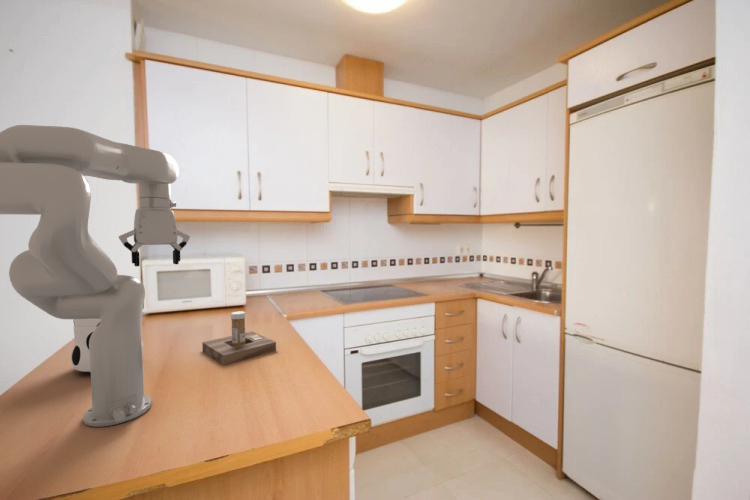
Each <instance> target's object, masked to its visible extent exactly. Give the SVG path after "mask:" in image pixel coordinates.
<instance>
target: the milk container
mask: <svg viewBox="0 0 750 500" xmlns="http://www.w3.org/2000/svg"><path fill="white" fill-rule="evenodd" d="M72 320H73V336H74V343H73V346H72V349H71V355H70V360H71V364H72V367H73V369H74V370H75V372H78V373H82V374H91V371H90V351H89V340H90V337H91V335H92V333H93V332H94V330H95V329H96V328H97V327H98V325H99V324H100V322H101V319H72ZM143 351H144V343H143V341H142V352H143Z"/></svg>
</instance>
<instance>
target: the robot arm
mask: <svg viewBox="0 0 750 500" xmlns="http://www.w3.org/2000/svg"><path fill="white" fill-rule="evenodd" d="M178 176H179V166H178V164H177V162H176V160H175V159H174V158H173V157H172V156H171V155H170V154H167V153H165V152H162V151H160V150H156V149H155V150H154V149H152V148H146V147H141V146H137V145H131V144H127V143H123V142H122V143H121V142H117V141H114V140H113V141H112V140H110V139H108V138H104V137H101V136H99V135H96V134H94V133H91V132H88V131H85V130H83V129H80V128H76V127H70V126H55V125H53V126H52V125H34V124H33V125H31V124H18V125H13V126H9V127H8V128H6V129H4V130H2V131H0V215H29V216H30V215H36V216H37V215H38V216H39V215H40V217H39V220H38V221H39V222H38V224H37V225H36V228H35V229H34V230H33V232H32V233H31V235H30V238H29V240H28V249H27V250H24V251H22V252H21V253H19V254H18V255H17V256H15V257H14V258H13V260H12V262H11V263H10V264H9V265H10V266H9V271H8V275H9V281H10V283H11V286H12V288H13V289H14V291H15V292H16V293H17V294H18V295H19V296H20V297H22V298H24V299H25V300H26V301H28V302H29V303H31V304H32V305H34V306H35V307H37V308H39V309H40V310H41V311H43V312H45V313H46V314H48V315H50V316H51V317H54V318H56V319H59V320H73V319H101V322H100V324H99V325H98V327H97V328H96V329H95V330H94V332H93V333H92V335H91V337H90V340H89V351H90V371H91V373H90V387H91V406H92V407H91V408H89V409H88V410H87V411H85V412H84V414H83V420H82V421H83V424H85V425H86V426H88V427H94V428H95V427H97V428H98V427H99V428H100V427H102V428H103V427H110V426H114V425H115V426H116V425H118V424H123V423H125V422H128V421H131V420H134V419H136V418H138V417H139V416H141V415H143V414H145V413H147V411H148V410H149V409H150V408H151V407H152V405H153V400H152V397H151V396H150V395H148V394H145V388H144V385H145V384H144V368H143V367H144V366H143V365H144V364H143V363H144V362H143V351H142V342H143V340H142V339H143V338H142V318H143V308H144V304H145V297H146V289H145V286H144V284H143V281H141V280H140V279H138V278H137V277H135V276H133V275H132V276H131V275H127V274H126V275H124V274H118V270H117V267H116V265H115V263H114V262H113V260H112V259H111V258H110V257H109V256H108V254H107V253H106V252H105V251H104V250H103V249H102V248H101V246H100V245H98V243H97V242H96V241H95V240H94V239H93V238H92V235H91V234H90V233H89V230H88V229H89V227H88V226H89V217H90V208H91V201H92V199H91V198H92V191H91V187H90V184H89V183H90V182H89V181H88V179H87V178H86V177H93V178H97V179H103V180H107V181H109V180H110V181H122V182H123V183H127V184H138V199H139V200H138V201H139V202H138V203H139V205H138V206H139V208H138V209H136V210H135V213H134V220H133V229H132V230H130V231H127V232H125V233H123V234H120V235H118V239H119V241H120V243H121V244H122V245H123V247H125V248H126V249H127V250H129V251H130V252H131V264H133V265H134V267H139V266H140V265H141V264H140V252H139V249H140V248H141V247H142V246H145V245H146V246H147V245H148V246H149V245H150V246H154V245H155V246H156V245H158V246H159V245H165V246H166V245H170V246H171V247H172V248H173V251H172V264H174V265H179V262H181V251H182V249H183V248H184V247H186V246H187V243H188V242H189V240H190V238H191V236H190V235H188V234H186V233H185V232H183V231H180V230H178V229H177V221H176V217H175V212H174V210H171V209H172V208H175V207H177V203H176V201H175V202H174V201H172V199H171V184H174V183H175V182H176V180H177V179H178ZM132 236H133V242H134V244H133V245H132V244H131V243H130V242H129V241H128V238H131V237H132ZM178 237H179V238H182V240H181V242H179V243H178Z"/></svg>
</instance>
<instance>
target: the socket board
mask: <svg viewBox="0 0 750 500" xmlns="http://www.w3.org/2000/svg"><path fill="white" fill-rule="evenodd" d="M201 343H202V352H204V353H205V354H207V355H208V356H210V357H211V358H213V359H215V360H216V361H218V363H220V364H221V365H223V366H224V365H228V364H232V363H235V362H238V361H242V360H246V359H249V358H252V357H253V358H254V357H257V356H261V355H264V354H269V353H272V352H275V351H277V341H275V340H273V339H270V338H268V337H266V336H264V335H261V334H259V333H256V332H254V331H252V330H251V331H247V332H246V331H245V344H244V345H240V346H236V347H232V335H228V336H223V337H220V338H216V339H211V340H210V339H209V340H206V341H202V342H201Z"/></svg>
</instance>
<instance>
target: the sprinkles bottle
mask: <svg viewBox="0 0 750 500" xmlns="http://www.w3.org/2000/svg"><path fill="white" fill-rule="evenodd" d="M230 318H231V336H232V347H236V346H240V345H244V344H245V333H246V323H245V322H246V321H245V320H246V312H245V311H242V310H241V311H239V310H238V311H233V312H231V313H230Z"/></svg>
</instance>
